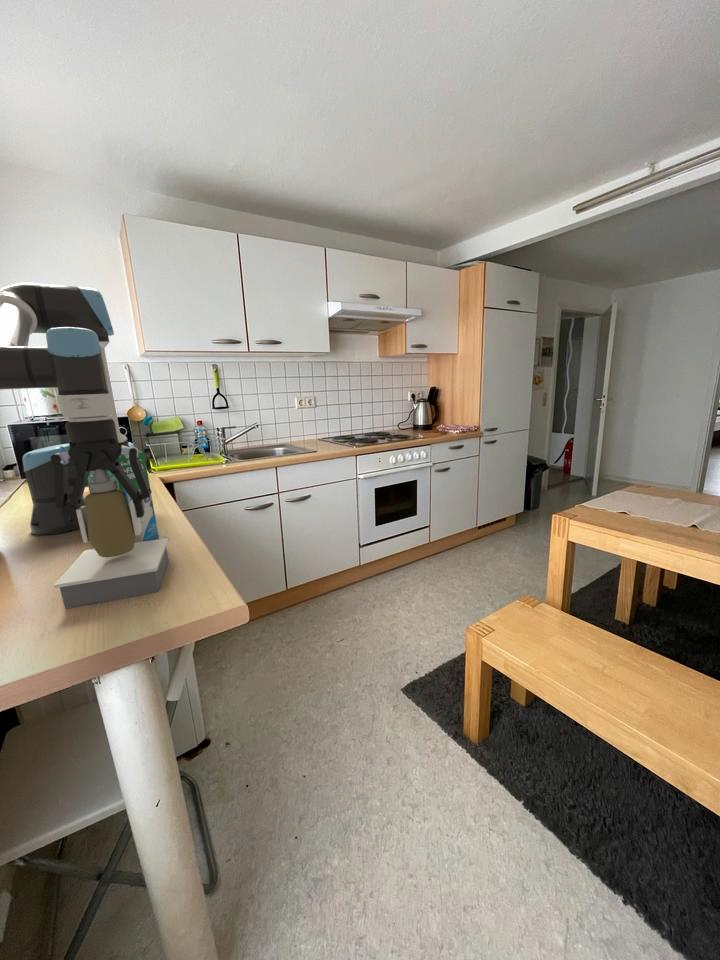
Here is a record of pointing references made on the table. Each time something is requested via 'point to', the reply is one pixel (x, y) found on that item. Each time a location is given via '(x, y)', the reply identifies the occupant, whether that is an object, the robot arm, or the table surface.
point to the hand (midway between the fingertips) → (113, 536)
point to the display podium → (114, 574)
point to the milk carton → (149, 518)
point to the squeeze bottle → (108, 517)
